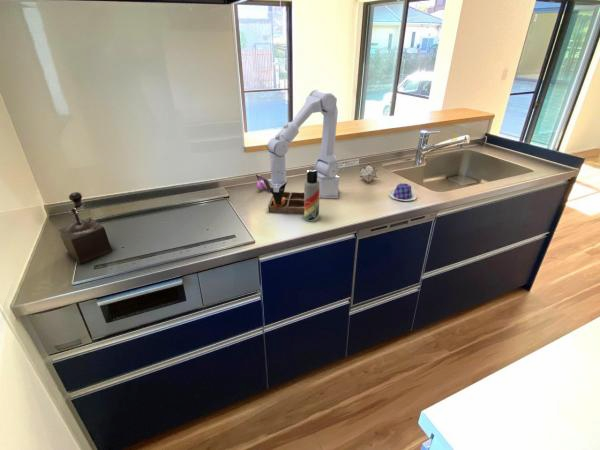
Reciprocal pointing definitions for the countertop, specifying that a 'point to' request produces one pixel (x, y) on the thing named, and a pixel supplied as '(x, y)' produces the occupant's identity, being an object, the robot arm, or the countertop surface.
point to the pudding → (403, 192)
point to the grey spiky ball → (368, 173)
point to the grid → (289, 204)
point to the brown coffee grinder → (84, 235)
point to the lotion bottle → (311, 196)
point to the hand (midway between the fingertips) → (279, 201)
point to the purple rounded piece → (261, 184)
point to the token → (281, 202)
